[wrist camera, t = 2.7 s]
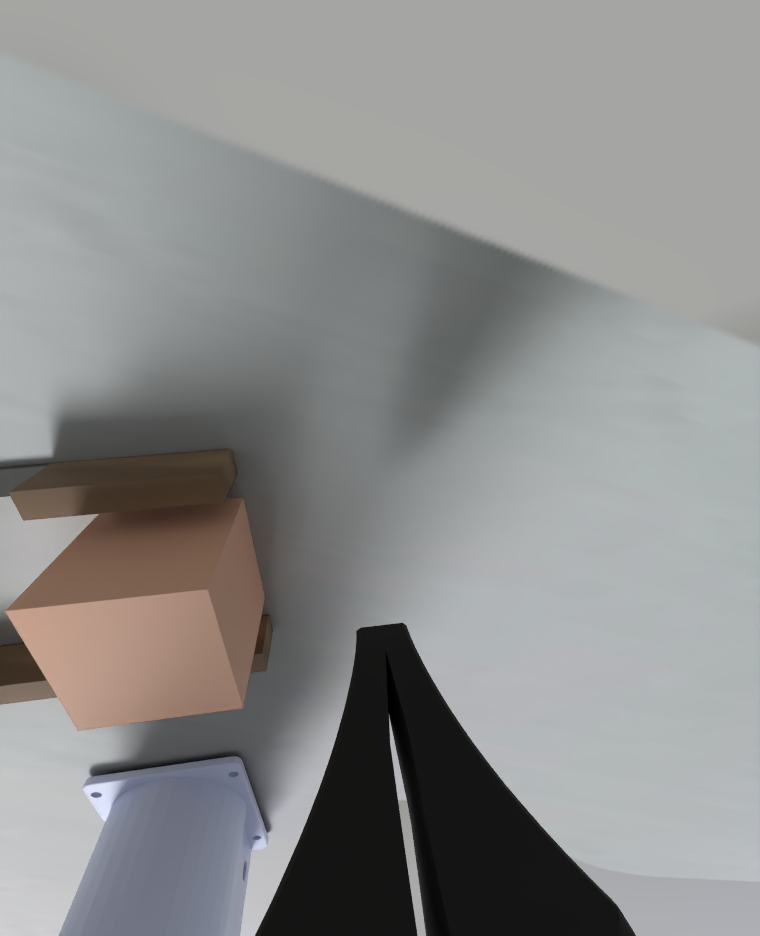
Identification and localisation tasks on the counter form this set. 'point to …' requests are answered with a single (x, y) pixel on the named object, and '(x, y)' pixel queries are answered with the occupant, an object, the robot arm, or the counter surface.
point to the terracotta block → (148, 615)
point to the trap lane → (104, 491)
